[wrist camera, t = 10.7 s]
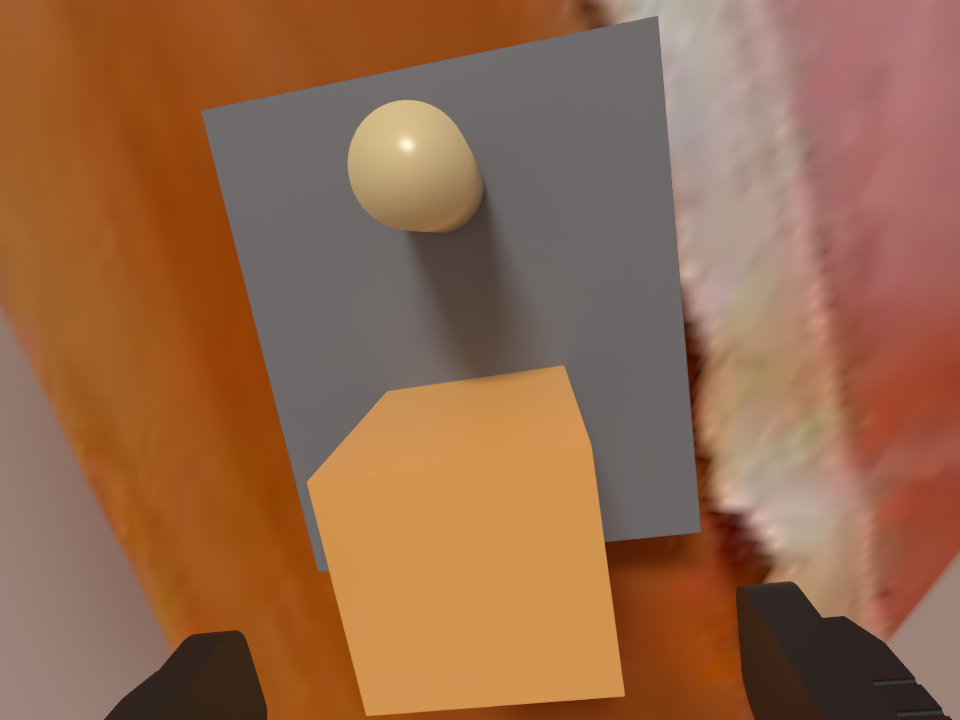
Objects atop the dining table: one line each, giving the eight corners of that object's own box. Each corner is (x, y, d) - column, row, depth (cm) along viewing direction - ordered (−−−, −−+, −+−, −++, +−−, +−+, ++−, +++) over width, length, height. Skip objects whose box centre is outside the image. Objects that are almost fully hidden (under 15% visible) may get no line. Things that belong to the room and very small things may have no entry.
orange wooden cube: (564, 365, 15) (591, 445, 9) (587, 530, 16) (625, 696, 10) (387, 391, 16) (306, 481, 10) (421, 548, 17) (366, 716, 11)
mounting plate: (636, 51, 15) (716, -81, 9) (677, 493, 18) (759, 628, 12) (247, 129, 17) (80, 62, 10) (343, 530, 20) (258, 669, 13)
